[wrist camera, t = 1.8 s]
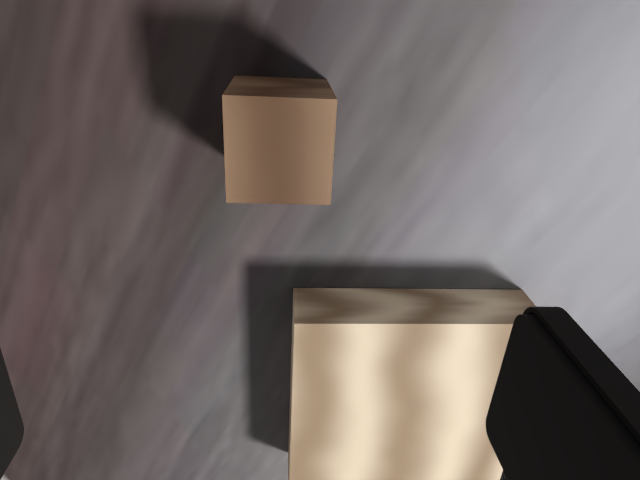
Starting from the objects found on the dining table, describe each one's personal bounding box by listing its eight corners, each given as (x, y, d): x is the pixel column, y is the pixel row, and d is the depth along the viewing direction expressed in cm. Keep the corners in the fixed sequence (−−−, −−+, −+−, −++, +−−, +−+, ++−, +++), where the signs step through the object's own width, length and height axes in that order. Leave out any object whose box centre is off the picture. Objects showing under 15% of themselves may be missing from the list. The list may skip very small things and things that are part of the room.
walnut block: (326, 79, 26) (337, 99, 21) (322, 166, 29) (330, 204, 23) (234, 75, 26) (222, 94, 21) (237, 163, 28) (226, 202, 23)
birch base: (522, 289, 33) (550, 324, 30) (477, 449, 41) (495, 492, 37) (293, 287, 32) (294, 323, 29) (288, 452, 39) (288, 498, 36)
